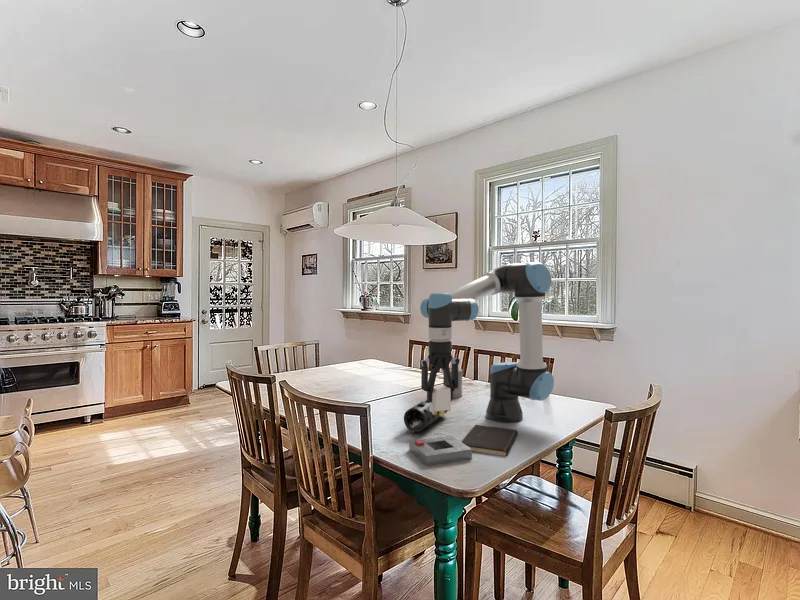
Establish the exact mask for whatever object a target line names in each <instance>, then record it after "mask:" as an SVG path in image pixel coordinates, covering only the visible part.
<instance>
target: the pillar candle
mask: <svg viewBox="0 0 800 600" xmlns="http://www.w3.org/2000/svg"><path fill="white" fill-rule="evenodd" d="M449 369H450V376H451V380H452V370H451V367H449ZM442 377H443V379H442V380H443V384H442V385H444V386H446V382H445V378H444V373H443V375H442ZM446 387H447V386H446ZM460 397H461V398H463V369H462V368H459V367H458V388H455V390H454V391H453V399H460Z"/></svg>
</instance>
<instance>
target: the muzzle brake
mask: <svg viewBox="0 0 800 600" xmlns="http://www.w3.org/2000/svg"><path fill="white" fill-rule="evenodd" d="M447 413H448V411H447V410H445V414H447ZM441 417H442V416H439V411H437V415H433V414H432V412H430V411H429V402H428V401H427V398H426V399H424V400H422V401H420V402H419V403H417V404H415V405H413V406H412V407H411V408H409V409H407V410H406V411H405V413H404V415H403V422H404V425H405V427H406V428H407V429H408V430H409V431H411V432H413V434H415V435H417V434H419V433H420V432H421V431H423V430H425V429H426V428H427V427H428V426H429V425H431V424H432V423H434V422H436V421H437V420H438V419H439V418H441Z"/></svg>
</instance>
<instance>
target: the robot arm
mask: <svg viewBox="0 0 800 600" xmlns="http://www.w3.org/2000/svg"><path fill="white" fill-rule="evenodd" d="M551 275H552V274H551V272H550V270H549V268H548V267H547V266H546V265H545V264H543V263H541V262H533V261H530V262H522V263H521V262H520V263H518V262H517V263H508V264H503V265H501V266H499V267H496V268H494V269H491V270H490V271H486V272H484V273H483V274H482V276H481V277H478V278H476V279H475V280H472V281H471V282H468V283H466V284H464V285H461V286H459V287H456V288H455V289H453V290H450V291H448V292H446V293H445V292H442V293H440V292H439V293H438V292H437V293H430V295H429V296H428V298H425V299H423V300H422V301H421V303H420V307H419V310H420V312H421V315H422V317H425V318H427V319H428V339H429V341H428V356H427V358H425V359H420V361H419V363H420V366H421V375H420V376H421V382H420V383H421V385H420V386H421V390H423V391H424V392H426V399H427V401H428V402H429V411H430V412H432V413H435V393H434V392H433V388H434V386H435V384H436V378H437V374H438V372H439V370H440V369H441V370H442V372H443V373H444V378H445V382H446V386H447V387H449V388H450V410H447V412H451V411H452V410H451V409H452V408H451V407H452V406H451V404H452V400H453V399H454V398H453V391H454V390H455V388H458V368H459V364H460V358H459V357H458V358H457V357H453V355H452V349H453V348H452V346H453V345H452V341H451V340H452V339H453V338H452V337H453V335H452V334H453V333H452V325H453V323H452V322H462V321H463V322H464V321H465V322H469V321H473V320H475V319H476V318H477V317H478V315H479V313H480V312H479V311H480V307H479V305H478V303H477V301H479V300H481V299H483V298H485V297H488V296H490V295H491V296H494V295H497V294H500V293H514V298H515V299H516V300H517V301H518V321H519V325H518V327H519V330H518V331H519V357H520V359H519V360H520V361H519V362H513V361H509V362H508V361H507V362H497V363H493V364H491V366H490V373H489V380H490V381H489V383H490V386H489V387H490V388H489V389H490V391H489V393H490V394H489V395H490V397H489V401H488V405H487V407H486V411H485V417H486V418H487V419H489V420H491V421H494V422H495V421H496V422H502V423H515V422H519V421H522V420H523V417H524V415H523V414H524V413H523V410H522V406H521V403H520V401H519V398H520V397H521V398H525V399H529V400H531V401H539V402H540V401H541V402H543V401H545V400H546V399H547V398H549V397H550V395H551V393H552V392H553V389H554V386H555V385H554V384H555V379H554V378H555V377H554V376H553V373H552V372H549V371H548V364H547V363H546V362H544V358H543V357H544V356H543V352H544V351H543V319H542V318H543V317H542V314H543V313H542V301H543V300H544V298H546V293H547V292H548V291H549V290H550V289H551V286H552V276H551ZM450 364H451V367H450V366H449V365H450ZM428 366H430V373H429V367H428ZM449 368H451V370H452V380H451V376H450V369H449Z"/></svg>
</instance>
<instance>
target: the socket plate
mask: <svg viewBox="0 0 800 600" xmlns="http://www.w3.org/2000/svg"><path fill="white" fill-rule="evenodd" d="M461 441H462V440H461ZM461 441H460V440H459V439H458V438H456V437H455V436H453V435H444V436H438V437H431V438H424V439H423V438H422V439H415V440H409V442H408V447H409V448H408V450H409V451H410V453H412V454H413V455H414V456H415V457H416V458H417V459H419V461H421V462H422V464H424V465H425V466H426V467H427V466H428V467H429V466H434V465H440V464H447V463H451V462H459V461H463V460H464V461H465V460H469V459H473V451H472V449H471V448H470V447H468V446H467V445H465V444H464V443H462V442H461Z"/></svg>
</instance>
